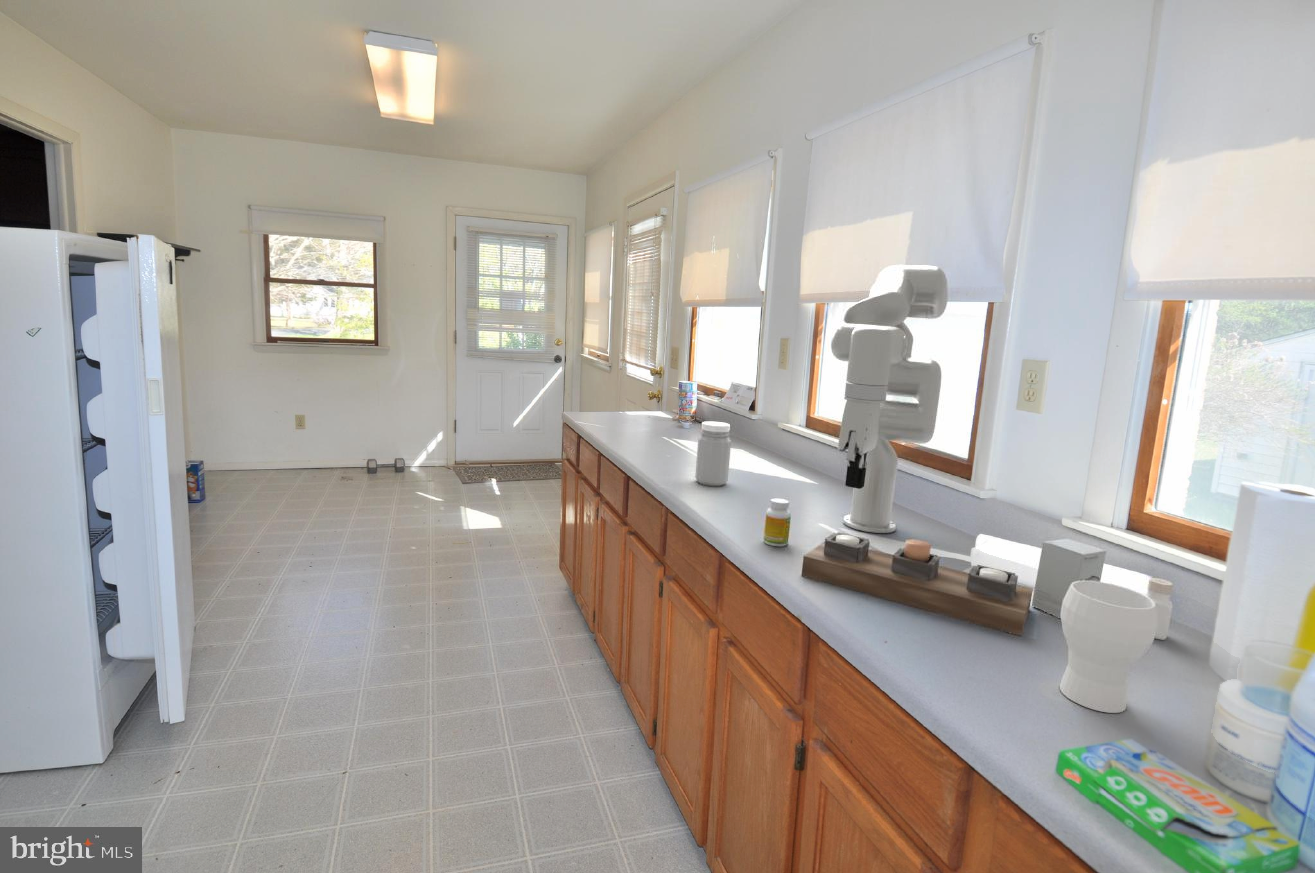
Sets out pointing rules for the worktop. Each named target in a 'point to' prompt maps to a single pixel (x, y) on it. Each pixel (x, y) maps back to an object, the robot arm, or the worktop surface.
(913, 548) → the terracotta plunger
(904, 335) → the robot arm
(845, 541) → the off-white plunger
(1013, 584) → the button board
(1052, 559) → the supplement box
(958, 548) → the worktop surface
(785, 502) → the supplement bottle
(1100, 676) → the cup
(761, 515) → the worktop surface
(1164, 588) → the pepper shaker
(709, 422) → the jar
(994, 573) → the off-white plunger
